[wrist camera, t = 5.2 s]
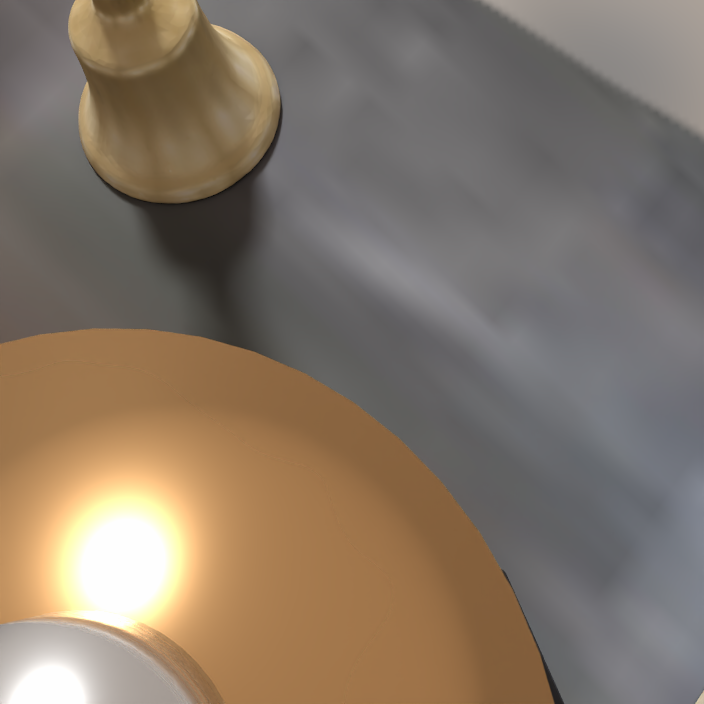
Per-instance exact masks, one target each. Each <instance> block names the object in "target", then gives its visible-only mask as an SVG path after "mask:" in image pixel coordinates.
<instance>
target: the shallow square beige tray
mask: <svg viewBox="0 0 704 704" xmlns="http://www.w3.org/2000/svg"><path fill="white" fill-rule="evenodd" d="M695 704H704V691H703V693H702V694H701V696H700V697H699V699H698V700H697V702H696V703H695Z"/></svg>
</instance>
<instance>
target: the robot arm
mask: <svg viewBox="0 0 704 704" xmlns="http://www.w3.org/2000/svg"><path fill="white" fill-rule="evenodd" d="M501 570H502V569H501ZM502 572H503V574H504V576H505V577H506V579H507V581H508V583H509V584H510V581H509V579H508V577H507V575H506V573H505V572H504V571H503V570H502ZM510 586H511V584H510ZM511 588H512V586H511ZM512 590H513V588H512ZM513 592H514V590H513ZM514 594H515V593H514ZM515 596H516V595H515ZM516 599H517V597H516ZM517 601H518V599H517ZM518 604H519V601H518ZM519 606H520V604H519ZM520 608H521V606H520ZM521 611H522V613H523V610H522V608H521ZM523 615H524V613H523ZM524 618H525V620H526V622H527V619H526V617H525V615H524ZM527 625H528V627H529V629H530V632H531V634H532V636H533V639H534V641H535V643H536V646H537V648H538V651H539V653H540V656H541V659H542V663H543V666H544V670H545V673H546V676H547V680H548V683H549V687H550V690H551V694H552V697H553V700H554V704H564V702H563V700H562V698H561V696H560V693H559V691H558V689H557V687H556V684H555V682H554V680H553V678H552V675H551V673H550V671H549V669H548V666H547V664H546V662H545V660H544V657H543V655H542V653H541V651H540V649H539V646H538V644H537V642H536V640H535V637H534V635H533V633H532V631H531V628H530V626H529V624H528V622H527Z"/></svg>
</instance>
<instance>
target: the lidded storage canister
mask: <svg viewBox="0 0 704 704" xmlns="http://www.w3.org/2000/svg"><path fill="white" fill-rule="evenodd" d="M0 704H554V700H553V697H552V694H551V690H550V687H549V683H548V680H547V676H546V673H545V670H544V666H543V663H542V659H541V656H540V653H539V651H538V648H537V646H536V643H535V641H534V639H533V636H532V634H531V632H530V629H529V627H528V625H527V622H526V620H525V618H524V615H523V613H522V611H521V608H520V606H519V604H518V601H517V599H516V596H515V594H514V592H513V590H512V588H511V586H510V584H509V583H508V581H507V579H506V577H505V576H504V574H503V572H502V570H501V569H500V567H499V565H498V563H497V562H496V560H495V558H494V557H493V555H492V553H491V551H490V550H489V548H488V546H487V544H486V543H485V541H484V539H483V537H482V536H481V534H480V532H479V531H478V530H477V528H476V527H475V526H474V524H473V523H472V522H471V520H470V519H469V518H468V516H467V515H466V514H465V512H464V511H463V510H462V508H461V507H460V506H459V504H458V503H457V502H456V500H455V499H454V498H453V497H452V495H451V494H450V493H449V491H448V490H447V489H446V487H445V486H444V485H443V483H442V482H441V481H440V480H439V479H438V478H437V477H436V476H435V475H434V474H433V473H432V472H431V471H430V470H429V469H428V468H427V467H426V466H425V465H424V463H423V462H422V461H421V460H420V459H419V458H418V457H417V456H416V455H415V454H414V453H413V452H412V451H411V450H410V449H409V448H408V447H407V446H406V445H405V444H404V443H403V442H402V441H401V440H400V439H399V438H398V437H397V436H395V435H394V434H393V433H391V432H390V431H389V430H388V429H386V428H385V427H384V426H383V425H381V424H380V423H379V422H378V421H376V420H375V419H374V418H373V417H371V416H370V415H369V414H367V413H366V412H365V411H364V410H362V409H361V408H360V407H359V406H357V405H356V404H355V403H354V402H352V401H350V400H349V399H347V398H345V397H343V396H342V395H340V394H338V393H337V392H335V391H333V390H332V389H330V388H328V387H327V386H325V385H323V384H322V383H320V382H318V381H317V380H315V379H313V378H312V377H310V376H308V375H307V374H305V373H303V372H300V371H298V370H296V369H293V368H291V367H289V366H286V365H284V364H282V363H279V362H277V361H275V360H272V359H270V358H268V357H265V356H263V355H261V354H258V353H256V352H253V351H250V350H246V349H243V348H239V347H236V346H232V345H228V344H225V343H221V342H218V341H214V340H211V339H207V338H203V337H198V336H191V335H184V334H177V333H170V332H163V331H156V330H149V329H86V330H77V331H68V332H60V333H51V334H42V335H36V336H32V337H28V338H24V339H20V340H15V341H11V342H7V343H3V344H0Z"/></svg>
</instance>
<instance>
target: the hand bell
mask: <svg viewBox="0 0 704 704" xmlns="http://www.w3.org/2000/svg"><path fill="white" fill-rule="evenodd" d="M68 31H69V38H70V41H71V45H72V48H73V50H74V52H75V54H76V56H77V58H78V60H79V62H80V64H81V66H82V69H83V71H84V73H85V76H86V79H87V83H86V85H85V88H84V91H83V93H82V96H81V101H80V106H79V134H80V139H81V143H82V147H83V150H84V152H85V154H86V157H87V159H88V160H89V162H90V164H91V165H92V167H93V168H94V169H95V171H96V172H97V173H98V174H99V175H100V176H101V177H102V178H103V179H104V180H105V181H106V182H107V183H109V184H110V185H111V186H112V187H114V188H115V189H117V190H119V191H121V192H123V193H125V194H127V195H129V196H131V197H134V198H137V199H140V200H144V201H149V202H155V203H183V202H191V201H196V200H198V199H203V198H207V197H209V196H212V195H215V194H217V193H219V192H221V191H223V190H224V189H226V188H228V187H230V186H231V185H233V184H234V183H235V182H237V181H238V180H240V179H241V178H242V177H243V176H244V175H245V174H247V173H248V172H250V171H251V170H252V169H253V167H254V166H255V165H256V164H257V163H258V162H259V161H260V159H261V158H262V157H263V155H264V153H265V152H266V151H267V149H268V148H269V146H270V144H271V142H272V140H273V138H274V135H275V132H276V129H277V126H278V120H279V114H280V106H281V103H280V94H279V89H278V84H277V81H276V78H275V75H274V73H273V71H272V69H271V67H270V65H269V64H268V62H267V61H266V59H265V58H264V57H263V56H262V54H261V53H260V52H259V51H258V50H257V49H256V48H255V47H254V46H252V45H251V44H250V43H249V42H247V41H246V40H244V39H243V38H242V37H240V36H238V35H237V34H235V33H233V32H231V31H229V30H227V29H224V28H222V27H219V26H216V25H212V24H210V22H209V21H208V19H207V17H206V16H205V14H204V13H203V11H202V9H201V8H200V6H199V4H198V2H197V0H75V2H74V4H73V6H72V9H71V12H70V16H69V24H68Z"/></svg>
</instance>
